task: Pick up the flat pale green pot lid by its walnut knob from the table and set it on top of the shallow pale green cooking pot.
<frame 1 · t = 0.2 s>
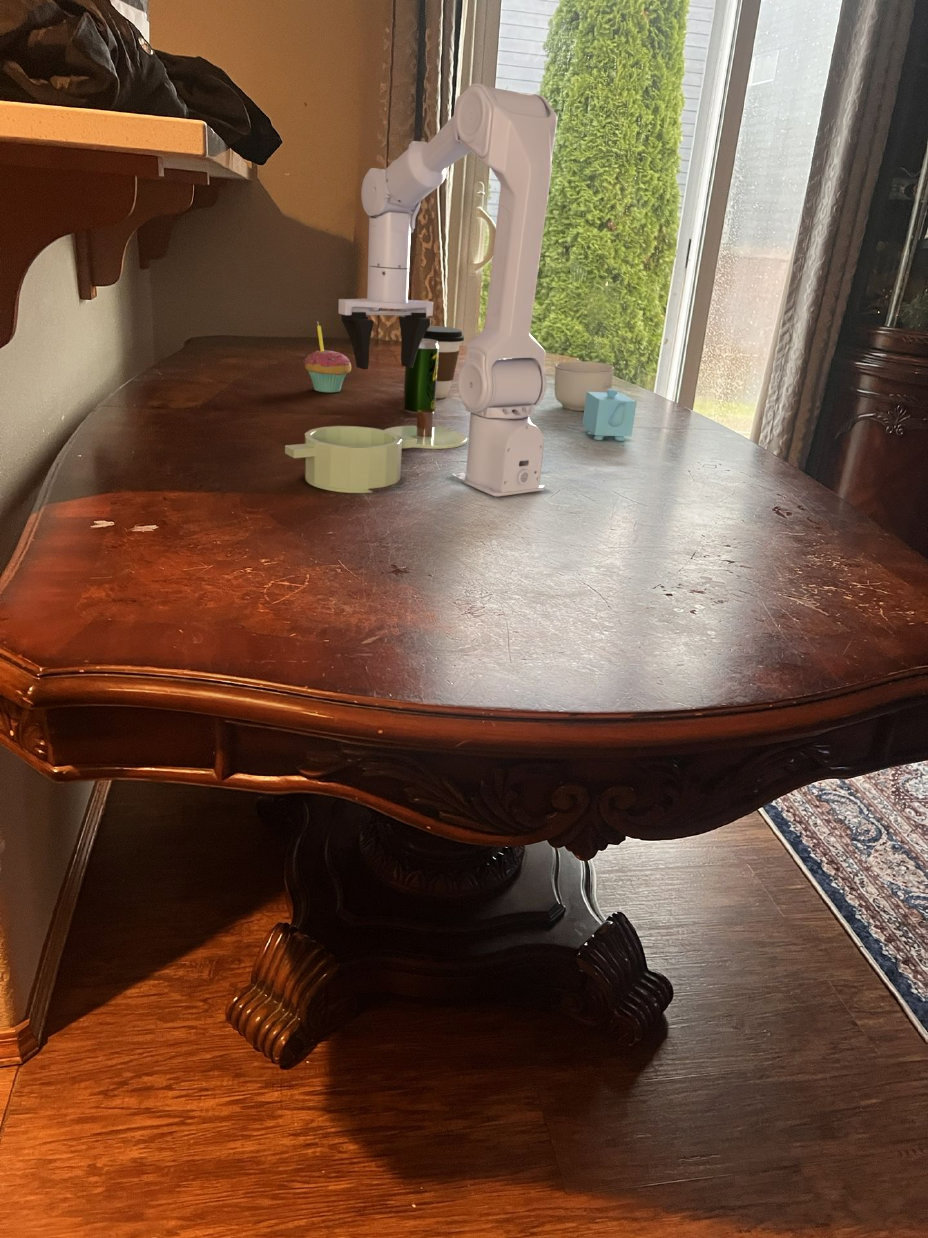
hand: (384, 367, 130), 10 cm above the table, tool pointing down, fingers open, 7 cm apart
pale green cooking pot: (352, 479, 111), on the table
teapot: (607, 439, 145), on the table
cupcake: (327, 391, 165), on the table
beer can: (418, 414, 151), on the table
coffee cup: (431, 396, 168), on the table
teacup: (578, 407, 168), on the table
pale green pot lid: (424, 438, 132), point 1 cm above the table
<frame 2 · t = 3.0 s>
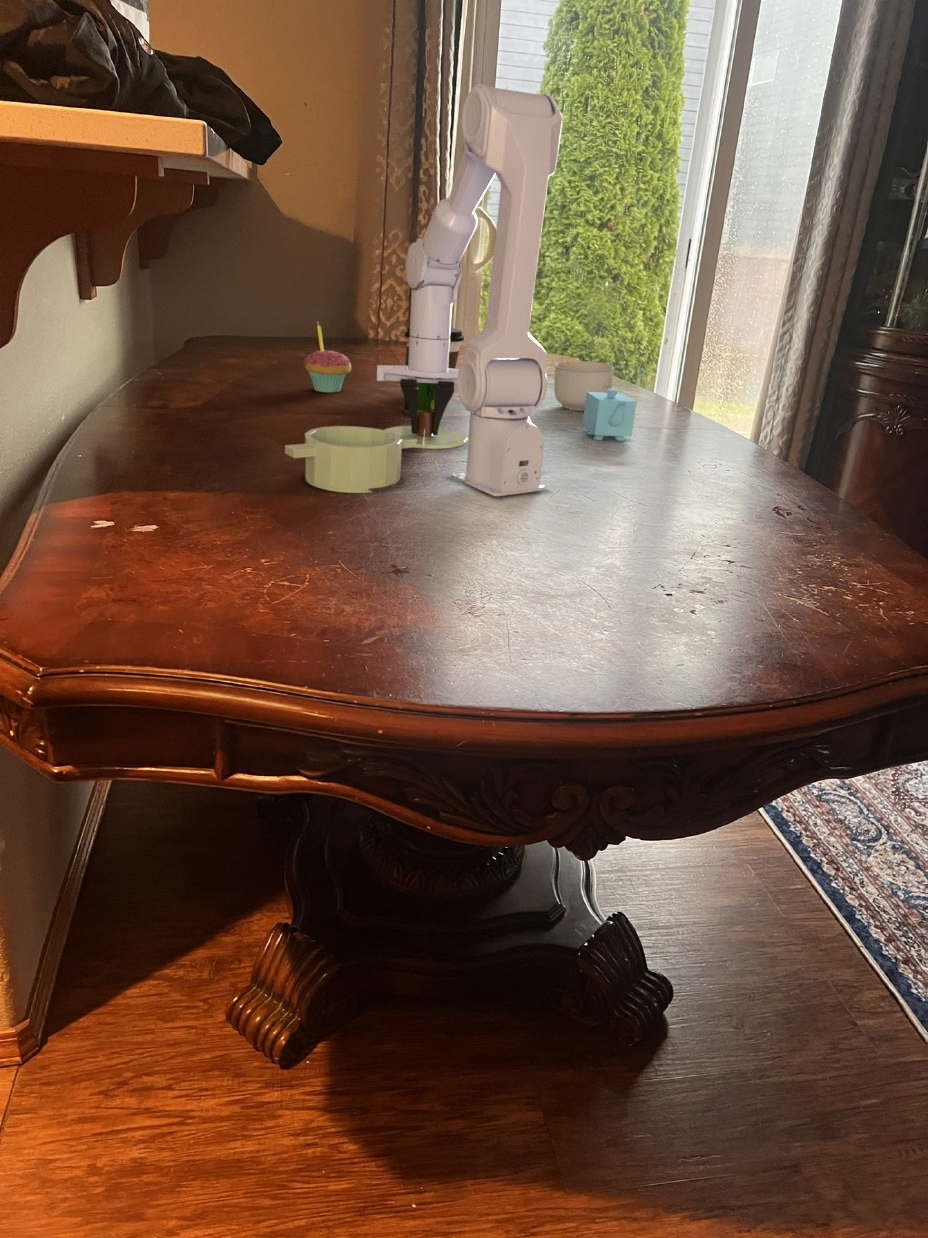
hand: (424, 432, 132), 1 cm above the table, tool pointing down, fingers closed on pale green pot lid, 2 cm apart
pale green pot lid: (424, 438, 132), point 1 cm above the table, touching gripper
everything else where it was.
when the fingers open (6 cm above the table, at t = 7.4 s): pale green pot lid stays where it is, resting on pale green cooking pot.
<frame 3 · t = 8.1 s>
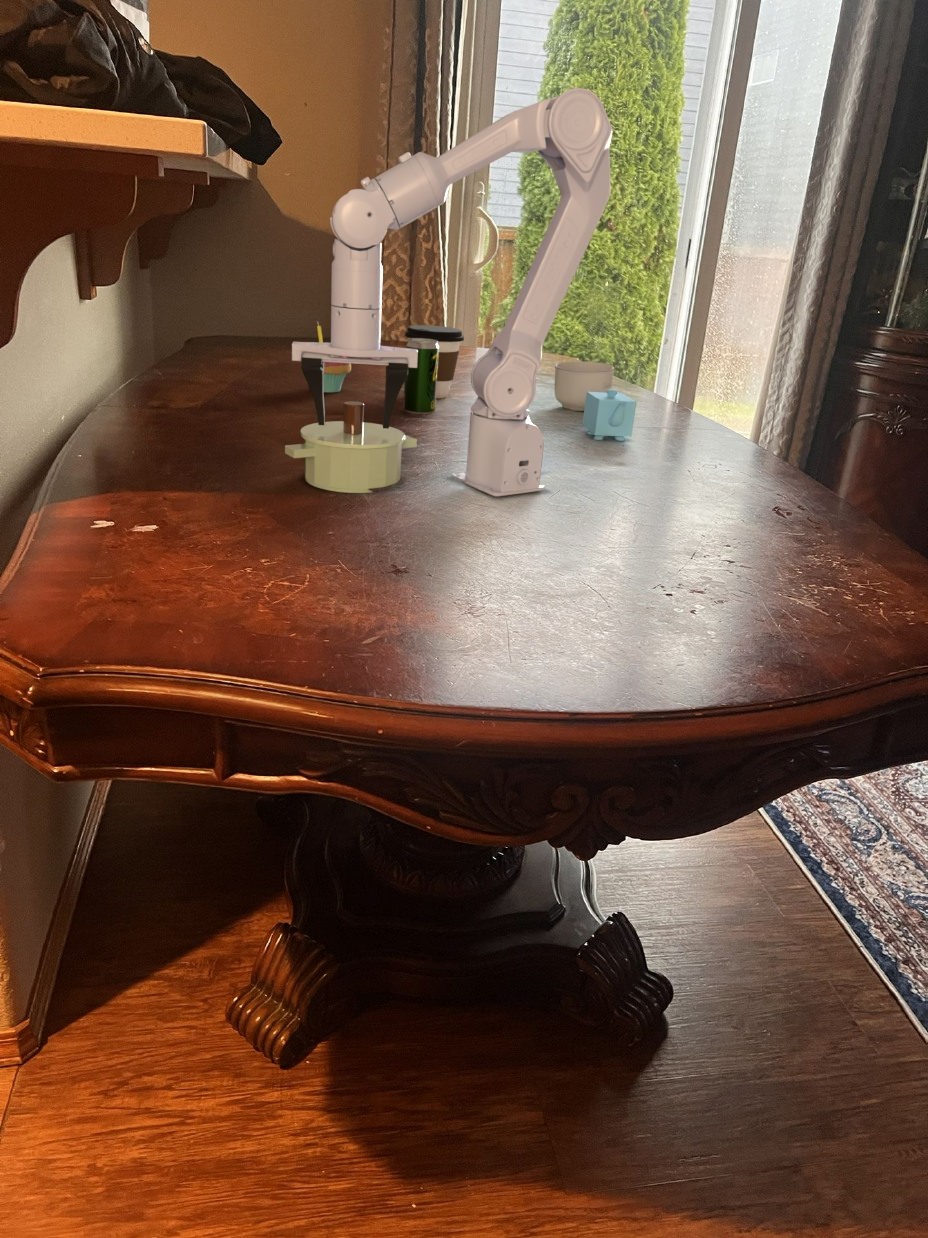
hand: (353, 425, 108), 7 cm above the table, tool pointing down, fingers open, 7 cm apart
pale green pot lid: (353, 436, 109), point 5 cm above the table, touching pale green cooking pot
everything else where it was.
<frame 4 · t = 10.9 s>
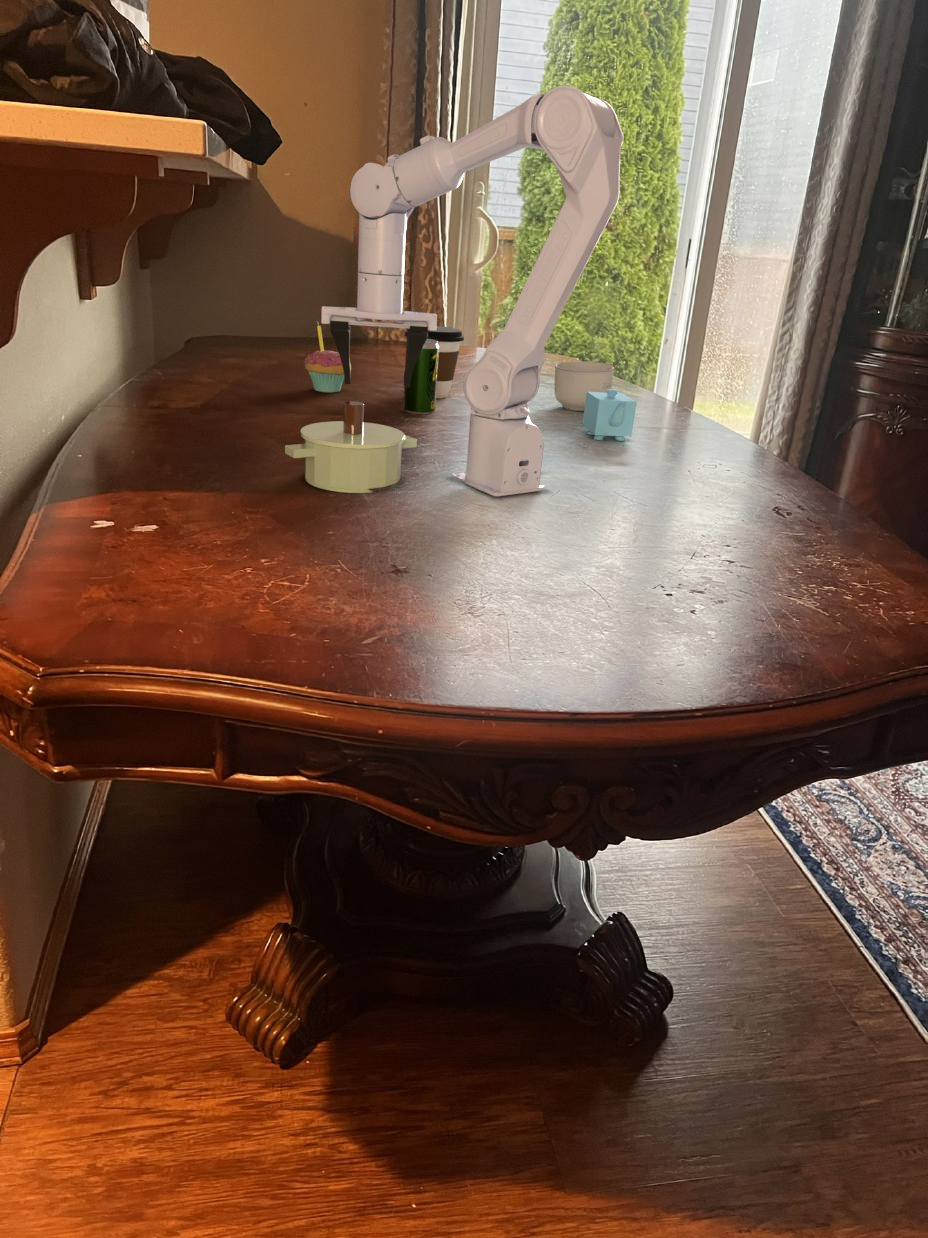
hand: (377, 384, 117), 10 cm above the table, tool pointing down, fingers open, 7 cm apart
nothing on the table moved.
at the end: pale green pot lid 0.0 cm off-centre on the pale green cooking pot, point 5.4 cm above the pale green cooking pot's base; pale green pot lid tilted 0° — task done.
